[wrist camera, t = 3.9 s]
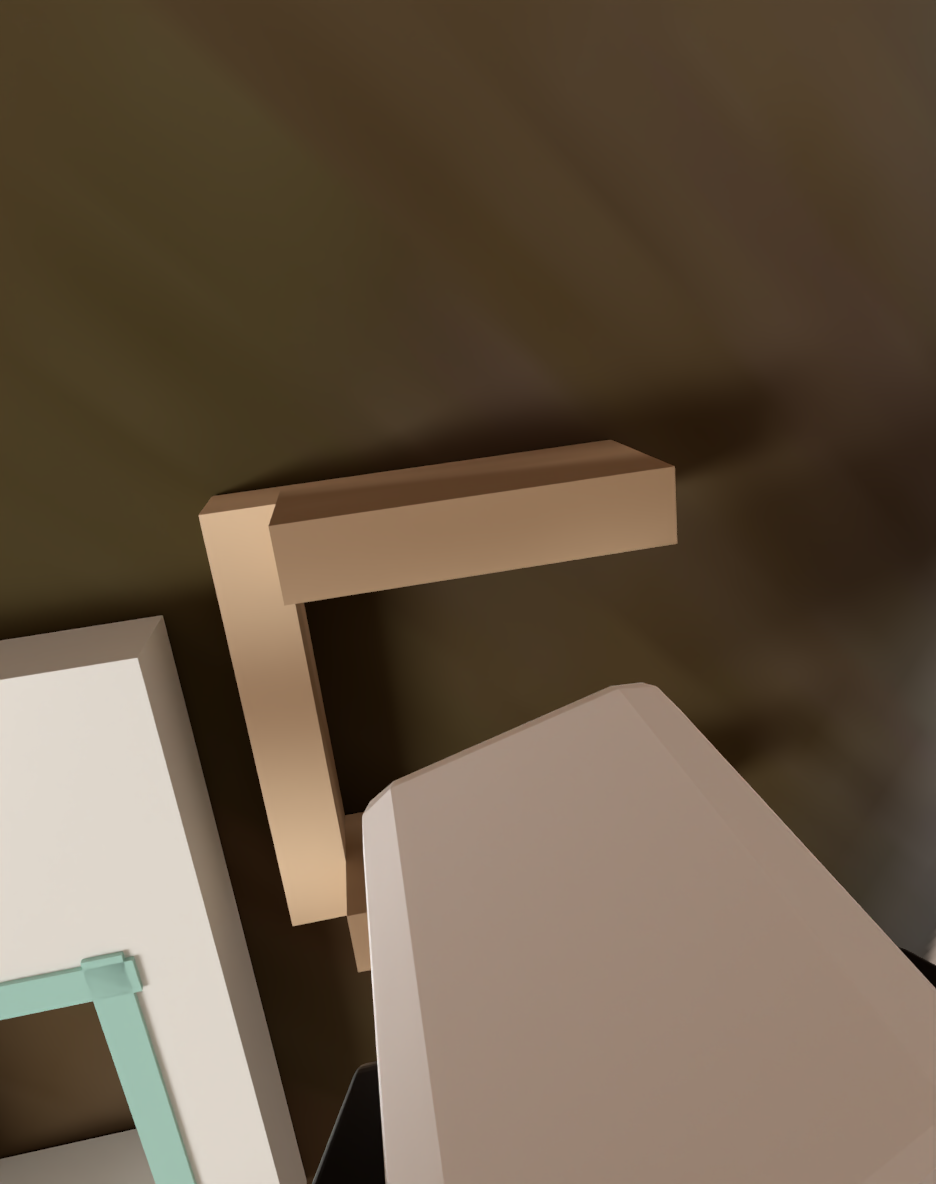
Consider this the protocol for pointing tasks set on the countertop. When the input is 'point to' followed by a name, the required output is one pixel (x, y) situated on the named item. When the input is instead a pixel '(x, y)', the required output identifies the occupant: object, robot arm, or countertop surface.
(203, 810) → the port plate
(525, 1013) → the salt shaker
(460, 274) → the countertop surface
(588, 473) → the cradle
